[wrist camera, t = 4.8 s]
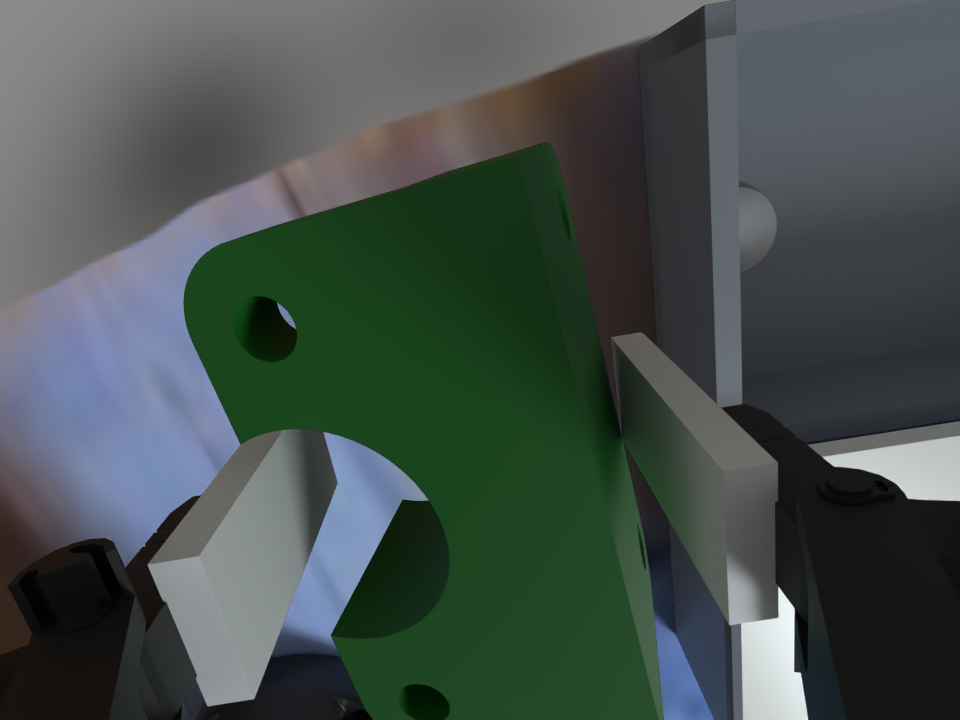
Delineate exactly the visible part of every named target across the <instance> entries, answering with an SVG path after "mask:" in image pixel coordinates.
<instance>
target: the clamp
mask: <svg viewBox="0 0 960 720" xmlns="http://www.w3.org/2000/svg"><path fill="white" fill-rule="evenodd" d="M277 302H278V303H279V304H280V305H282V306H283V307H284V308H285V309H286V310H287V311H288V313H289V314H290V315H291V317H292V319H293V321H294V323H295V326H296V329H295V328H293V327H292V326H290V325H289V324H288V323H287V322H286V321H285V320H284V318H283V317H282V315H281V313H280V311H279V309H278V305H277ZM184 315H185V321H186V326H187V329H188V332H189V335H190V338H191V340H192V342H193V345H194V347H195V349H196V351H197V353H198V355H199V357H200V360H201V362H202V364H203V366H204V368H205V370H206V372H207V374H208V377H209V379H210V381H211V383H212V385H213V387H214V389H215V391H216V393H217V396H218V398H219V400H220V402H221V404H222V406H223V408H224V410H225V413H226V415H227V417H228V419H229V421H230V423H231V425H232V427H233V430H234V432H235V434H236V436H237V438H238V440H239V442H240V444H243V443H244V442H246V441H248V440H250V439H252V438H254V437H257V436H259V435H262V434H266V433H269V432H273V431H280V430H290V429H304V430H315V431H321V432H327V433H331V434H335V435H338V436H342V437H345V438H347V439H350V440H353V441H355V442H357V443H360V444H362V445H364V446H366V447H368V448H370V449H372V450H373V451H375V452H377V453H379V454H380V455H382V456H383V457H385V458H386V459H388V460H389V461H391V462H392V463H394V464H395V465H396V466H397V467H398V468H400V469H401V470H402V471H403V472H404V473H405V474H406V475H407V476H408V477H409V478H410V479H412V480H413V481H414V482H415V484H416V485H417V486H418V487H419V488H420V489H421V491H422V492H423V493H424V494H425V496H426V497H427V499H428V500H429V501H410V500H402V502H401V504H400V506H399V508H398V509H397V511H396V513H395V515H394V517H393V519H392V521H391V523H390V525H389V526H388V528H387V530H386V532H385V534H384V536H383V538H382V540H381V541H380V543H379V545H378V547H377V549H376V551H375V553H374V555H373V557H372V558H371V560H370V562H369V564H368V566H367V568H366V570H365V572H364V574H363V575H362V577H361V579H360V581H359V583H358V585H357V587H356V589H355V591H354V592H353V594H352V596H351V598H350V600H349V602H348V604H347V606H346V607H345V609H344V611H343V613H342V615H341V617H340V619H339V621H338V623H337V624H336V626H335V628H334V630H333V632H332V634H331V637H332V640H333V642H334V644H335V646H336V648H337V650H338V652H339V654H340V656H341V659H342V661H343V663H344V665H345V667H346V669H347V671H348V673H349V676H350V678H351V680H352V682H353V684H354V686H355V688H356V690H357V693H358V695H359V697H360V699H361V701H362V703H363V705H364V707H365V709H366V711H367V712H368V714H369V715H370V716H371V718H372V719H373V720H664V716H663V706H662V695H661V684H660V673H659V662H658V652H657V641H656V630H655V619H654V609H653V598H652V587H651V578H650V571H649V564H648V557H647V551H646V545H645V540H644V534H643V529H642V524H641V519H640V515H639V510H638V506H637V501H636V497H635V493H634V488H633V484H632V479H631V475H630V471H629V466H628V462H627V458H626V453H625V449H624V444H623V440H622V436H621V431H620V427H619V423H618V418H617V414H616V409H615V405H614V401H613V396H612V392H611V388H610V383H609V379H608V374H607V370H606V366H605V361H604V357H603V353H602V348H601V344H600V339H599V335H598V331H597V326H596V322H595V318H594V313H593V309H592V304H591V300H590V296H589V291H588V287H587V283H586V278H585V274H584V269H583V265H582V261H581V256H580V252H579V248H578V243H577V239H576V234H575V230H574V226H573V221H572V217H571V213H570V208H569V204H568V200H567V195H566V191H565V187H564V183H563V180H562V176H561V172H560V169H559V166H558V162H557V159H556V156H555V153H554V151H553V148H552V146H551V144H550V143H549V142H545V143H542V144H538V145H535V146H532V147H528V148H525V149H521V150H518V151H515V152H511V153H508V154H505V155H501V156H498V157H495V158H491V159H488V160H485V161H481V162H478V163H475V164H471V165H468V166H465V167H461V168H458V169H454V170H451V171H448V172H445V173H442V174H440V175H437V176H434V177H431V178H429V179H426V180H423V181H420V182H418V183H415V184H412V185H409V186H407V187H403V188H400V189H397V190H393V191H390V192H387V193H383V194H380V195H376V196H373V197H370V198H366V199H363V200H360V201H356V202H353V203H350V204H346V205H343V206H339V207H336V208H333V209H329V210H326V211H323V212H319V213H316V214H312V215H309V216H306V217H302V218H299V219H296V220H292V221H289V222H286V223H282V224H279V225H275V226H272V227H269V228H266V229H263V230H260V231H258V232H255V233H252V234H249V235H246V236H243V237H240V238H237V239H234V240H231V241H228V242H225V243H222V244H220V245H218V246H216V247H214V248H212V249H211V250H209V251H208V252H207V253H205V254H204V255H203V256H202V257H201V258H200V259H199V260H198V262H197V263H196V264H195V266H194V267H193V269H192V271H191V273H190V275H189V277H188V280H187V283H186V287H185V292H184Z"/></svg>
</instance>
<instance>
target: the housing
mask: <svg viewBox="0 0 960 720" xmlns="http://www.w3.org/2000/svg"><path fill="white" fill-rule="evenodd" d="M638 55H639V70H640V86H641V101H642V117H643V132H644V148H645V163H646V178H647V194H648V209H649V225H650V240H651V256H652V271H653V287H654V302H655V318H656V333H657V347H658V348H659V349H660V350H661V351H662V352H663V353H664V354H665V355H666V356H667V357H668V358H669V359H670V360H671V361H672V362H673V363H674V364H676V365H677V366H678V367H679V368H680V369H681V370H682V371H683V372H684V373H685V374H686V375H687V376H688V377H689V378H690V379H691V380H692V381H693V382H694V383H695V384H696V385H697V386H698V387H700V388H701V389H702V390H703V391H704V392H705V393H706V394H707V395H708V396H709V397H710V398H711V399H712V400H713V401H714V402H715V403H716V404H717V405H718V406H719V407H720V408H722V407H728V406H734V405H740V404H747V405H750V406H752V407H755V408H757V409H760V410H763V411H765V412H768V413H769V414H771V415H772V416H773V417H774V418H775V419H777V420H778V421H779V422H780V423H782V424H783V426H784V428H788V429H789V430H790V431H791V432H792V433H794V434H795V435H796V438H800V439H801V440H802V441H803V442H805V443H809V442H815V441H822V440H828V439H835V438H841V437H848V436H854V435H861V434H867V433H873V432H880V431H886V430H893V429H899V428H906V427H912V426H918V425H925V424H931V423H938V422H944V421H951V420H957V419H960V0H731V1H725V2H720V3H714V4H708V5H704V6H703V7H701V8H699V9H698V10H696V11H695V12H693V13H692V14H690V15H688V16H687V17H685V18H684V19H682V20H681V21H679V22H678V23H676V24H675V25H673V26H671V27H670V28H668V29H667V30H665V31H664V32H662V33H661V34H659V35H658V36H656V37H654V38H653V39H651V40H650V41H648V42H647V43H645V44H644V45H642V46H640V47H639V48H638ZM669 534H670V549H671V565H672V580H673V596H674V611H675V627H676V636H677V638H678V641H679V643H680V645H681V647H682V649H683V652H684V654H685V656H686V658H687V660H688V663H689V665H690V667H691V669H692V671H693V674H694V676H695V678H696V680H697V682H698V685H699V687H700V689H701V691H702V694H703V696H704V698H705V700H706V702H707V705H708V707H709V709H710V711H711V713H712V716H713V718H714V720H734V708H733V670H732V632H731V625H729V624H728V622H727V620H726V619H725V617H724V615H723V613H722V612H721V610H720V608H719V606H718V605H717V603H716V601H715V599H714V598H713V596H712V594H711V592H710V591H709V589H708V587H707V585H706V584H705V582H704V580H703V579H702V577H701V575H700V573H699V572H698V570H697V568H696V566H695V565H694V563H693V561H692V559H691V558H690V556H689V554H688V552H687V551H686V549H685V547H684V545H683V544H682V542H681V540H680V538H679V537H678V535H677V533H676V531H675V530H674V528H673V526H672V525H671V523H670V521H669Z"/></svg>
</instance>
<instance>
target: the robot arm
mask: <svg viewBox="0 0 960 720" xmlns="http://www.w3.org/2000/svg"><path fill="white" fill-rule="evenodd" d="M611 343H612V353H613V362H614V372H615V382H616V392H617V402H618V412H619V422H620V431H621V436H622V439H623V441H624V443H625V444H626V446H627V448H628V450H629V451H630V453H631V455H632V457H633V458H634V460H635V462H636V464H637V465H638V467H639V469H640V471H641V472H642V474H643V476H644V477H645V479H646V481H647V483H648V484H649V486H650V488H651V490H652V491H653V493H654V495H655V497H656V498H657V500H658V502H659V504H660V505H661V507H662V509H663V511H664V512H665V514H666V516H667V518H668V519H669V521H670V523H671V525H672V526H673V528H674V530H675V531H676V533H677V535H678V537H679V538H680V540H681V542H682V544H683V545H684V547H685V549H686V551H687V552H688V554H689V556H690V558H691V559H692V561H693V563H694V565H695V566H696V568H697V570H698V572H699V573H700V575H701V577H702V579H703V580H704V582H705V584H706V585H707V587H708V589H709V591H710V592H711V594H712V596H713V598H714V599H715V601H716V603H717V605H718V606H719V608H720V610H721V612H722V613H723V615H724V617H725V619H726V620H727V622H728V624H729V625H735V624H742V623H748V622H755V621H761V620H768V619H774V618H779V613H778V587H779V588H780V589H781V591H782V592H783V593H784V595H785V596H786V597H787V599H788V600H789V602H790V603H791V604H792V606H793V607H794V608H795V615H794V672H798V673H801V677H802V684H803V690H804V696H805V703H806V709H807V715H808V720H960V501H945V500H918V499H908V498H907V496H906V494H905V493H904V492H903V491H902V490H901V489H900V488H899V486H898V485H897V484H896V483H894V482H892V481H890V480H888V479H887V478H885V477H883V476H881V475H879V474H875V473H872V472H868V471H865V470H861V469H855V468H846V467H834V466H832V465H831V464H830V463H829V462H828V461H826V460H825V459H824V458H823V457H822V456H820V455H819V454H818V453H817V452H815V451H814V450H813V449H812V448H811V447H809V446H808V445H807V444H806V443H805V442H803V441H802V440H801V439H800V438H796V435H795V434H794V433H792V432H791V431H790V430H789V429H788V428H784V426H783V424H782V423H780V422H779V421H778V420H777V419H775V418H774V417H773V416H772V415H771V414H769V413H768V412H765V411H763V410H760V409H757V408H755V407H752V406H750V405H747V404H740V405H734V406H728V407H722V408H720V407H719V406H718V405H717V404H716V403H715V402H714V401H713V400H712V399H711V398H710V397H709V396H708V395H707V394H706V393H705V392H704V391H703V390H702V389H701V388H700V387H698V386H697V385H696V384H695V383H694V382H693V381H692V380H691V379H690V378H689V377H688V376H687V375H686V374H685V373H684V372H683V371H682V370H681V369H680V368H679V367H678V366H677V365H676V364H674V363H673V362H672V361H671V360H670V359H669V358H668V357H667V356H666V355H665V354H664V353H663V352H662V351H661V350H660V349H659V348H658V347H657V346H656V345H655V344H654V343H653V342H651V341H650V340H649V339H648V338H647V337H646V336H645V335H644V334H643V333H642V332H639V333H633V334H628V335H622V336H616V337H611ZM337 483H338V482H337V479H336V475H335V472H334V468H333V465H332V461H331V458H330V454H329V451H328V447H327V443H326V440H325V436H324V433H323V432H321V431H315V430H304V429H290V430H280V431H273V432H269V433H266V434H262V435H259V436H257V437H254V438H252V439H250V440H248V441H246V442H244V443H243V444H241V445H240V446H239V448H238V449H237V450H236V452H235V453H234V454H233V455H232V457H231V458H230V459H229V461H228V462H227V463H226V464H225V466H224V467H223V468H222V470H221V471H220V472H219V473H218V475H217V476H216V477H215V479H214V480H213V481H212V482H211V484H210V485H209V486H208V488H207V489H206V490H205V491H204V493H203V494H202V495H200V496H194V497H192V498H190V499H189V500H188V501H186V502H185V503H184V504H182V505H181V506H179V507H178V508H177V509H175V510H174V511H173V512H171V513H170V514H169V516H168V517H167V518H166V519H165V520H164V522H163V523H162V524H161V525H160V527H159V528H158V529H157V533H154V534H153V535H152V536H151V537H150V539H149V540H148V541H147V542H146V543H145V544H146V547H142V548H141V549H140V551H139V552H138V553H137V554H136V556H135V557H134V558H133V559H132V560H131V562H130V563H129V564H128V565H127V566H126V568H125V567H124V564H123V562H122V560H121V558H120V555H119V553H118V551H117V549H116V546H115V544H114V542H112V541H110V540H108V539H106V538H101V539H89V540H85V541H81V542H77V543H73V544H70V545H68V546H66V547H63V548H61V549H58V550H56V551H53V552H51V553H50V554H48V555H46V556H44V557H43V558H41V559H39V560H37V561H35V562H34V563H32V564H31V565H30V566H28V567H27V568H26V569H24V570H23V571H22V572H20V573H19V574H18V575H17V576H16V577H15V578H14V580H13V581H12V582H11V583H10V584H9V586H8V588H9V590H10V591H11V593H12V595H13V597H14V599H15V601H16V603H17V605H18V607H19V609H20V611H21V612H22V614H23V616H24V618H25V620H26V622H27V624H28V626H29V628H30V630H31V631H32V633H33V634H32V636H31V638H30V641H29V643H28V645H27V646H24V647H21V648H18V649H16V650H13V651H10V652H7V653H5V654H2V655H0V720H191V718H190V715H189V712H188V710H187V708H186V705H185V703H184V700H185V698H186V696H187V694H188V692H189V690H190V688H191V686H192V685H193V683H194V681H195V679H196V680H197V683H198V685H199V688H200V690H201V692H202V695H203V697H204V699H205V703H204V705H203V707H202V709H201V711H200V713H199V715H198V717H197V719H196V720H373V719H372V718H371V716H370V715H369V714H368V712H367V711H366V709H365V707H364V705H363V703H362V701H361V699H360V697H359V695H358V693H357V690H356V688H355V686H354V684H353V682H352V680H351V678H350V676H349V673H348V671H347V669H346V667H345V665H344V663H343V661H342V659H340V658H335V657H328V656H319V655H294V656H285V657H279V658H274V659H270V657H271V654H272V652H273V649H274V647H275V644H276V641H277V639H278V636H279V634H280V631H281V629H282V626H283V623H284V621H285V618H286V616H287V613H288V610H289V608H290V605H291V603H292V600H293V597H294V595H295V592H296V590H297V587H298V584H299V582H300V579H301V577H302V574H303V572H304V569H305V566H306V564H307V561H308V559H309V556H310V553H311V551H312V548H313V546H314V543H315V540H316V538H317V535H318V533H319V530H320V527H321V525H322V522H323V520H324V517H325V515H326V512H327V509H328V507H329V504H330V502H331V499H332V496H333V494H334V491H335V489H336V486H337Z"/></svg>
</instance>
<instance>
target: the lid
mask: <svg viewBox="0 0 960 720" xmlns="http://www.w3.org/2000/svg"><path fill="white" fill-rule="evenodd" d="M808 446H809V447H811V448H812V449H813V450H814V451H815V452H817V453H818V454H819V455H820V456H822V457H823V458H824V459H825V460H826V461H828V462H829V463H830V464H831V465H832V466H834V467H846V468H855V469H861V470H865V471H868V472H872V473H875V474H879V475H881V476H883V477H885V478H887V479H888V480H890V481H892V482H894V483H896V484H897V485H898V486H899V488H900V489H901V490H902V491H903V492H904V493H905V494H906V496H907V498H908V499H918V500H945V501H960V421H958V422H952V423H945V424H939V425H932V426H926V427H919V428H913V429H907V430H900V431H894V432H887V433H881V434H874V435H868V436H861V437H855V438H849V439H842V440H836V441H829V442H823V443H816V444H810V445H808ZM778 613H779V618H774V619H768V620H761V621H755V622H748V623H742V624H735V625H731V632H732V670H733V708H734V720H808V715H807V709H806V703H805V696H804V690H803V684H802V677H801V673H798V672H794V615H795V608H794V607H793V606H792V604H791V603H790V602H789V600H788V599H787V597H786V596H785V595H784V593H783V592H782V591H781V589H780V588H779V587H778Z"/></svg>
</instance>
